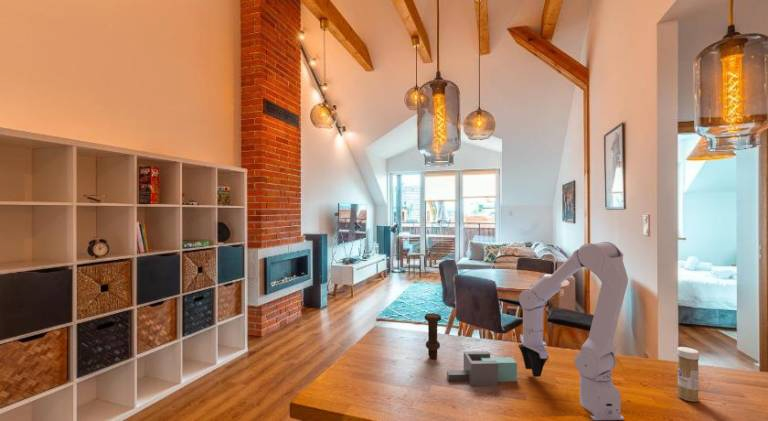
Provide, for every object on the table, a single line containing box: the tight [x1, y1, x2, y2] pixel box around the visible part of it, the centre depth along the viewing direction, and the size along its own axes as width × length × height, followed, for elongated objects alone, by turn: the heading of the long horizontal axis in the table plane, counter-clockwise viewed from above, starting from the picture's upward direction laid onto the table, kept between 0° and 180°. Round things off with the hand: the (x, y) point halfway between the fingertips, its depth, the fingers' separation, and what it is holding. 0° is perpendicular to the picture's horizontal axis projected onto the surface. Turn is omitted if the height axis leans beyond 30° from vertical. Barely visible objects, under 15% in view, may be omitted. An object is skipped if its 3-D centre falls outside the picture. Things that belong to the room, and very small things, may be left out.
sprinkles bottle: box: [676, 346, 700, 403], centre depth 97 cm, size 5×5×14 cm
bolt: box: [424, 312, 442, 360], centre depth 124 cm, size 6×5×15 cm
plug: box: [480, 356, 518, 382], centre depth 109 cm, size 4×10×6 cm, turn 91°
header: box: [446, 350, 499, 387], centre depth 109 cm, size 9×14×7 cm, turn 92°
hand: (532, 372), depth 109 cm, fingers open, 4 cm apart
